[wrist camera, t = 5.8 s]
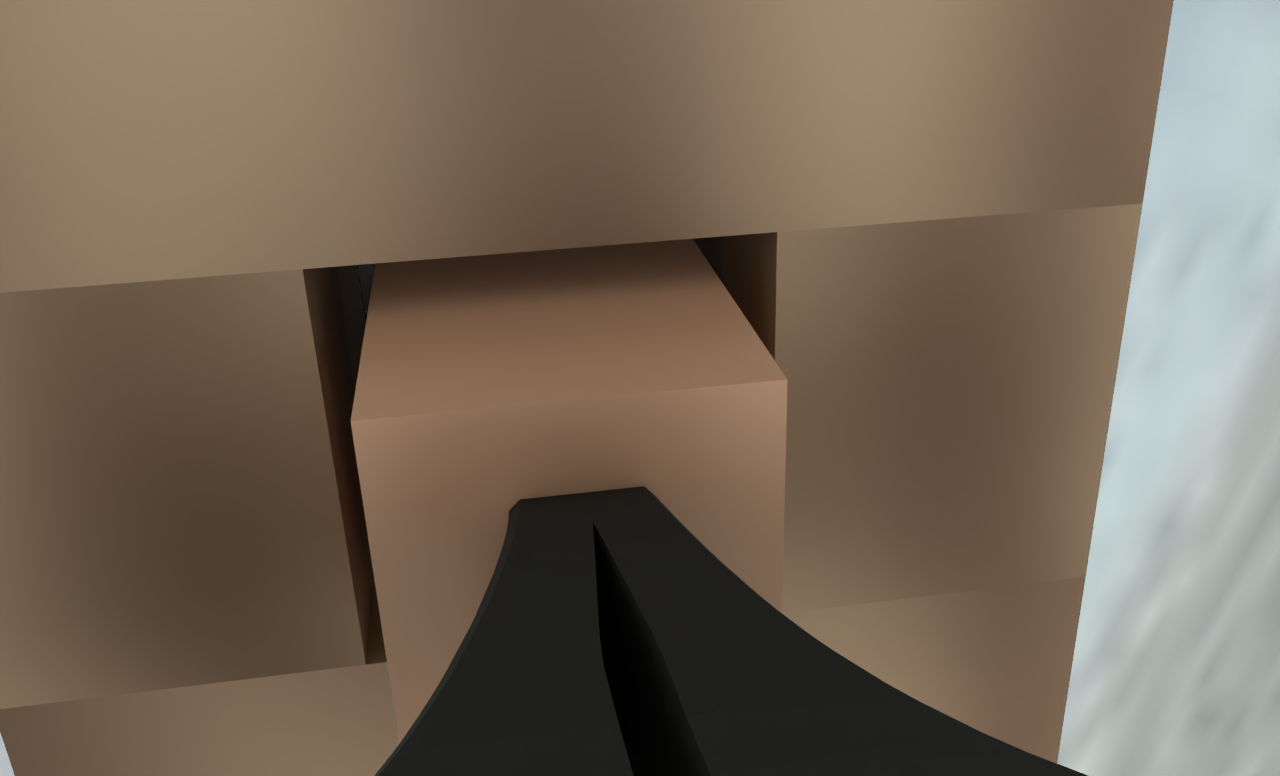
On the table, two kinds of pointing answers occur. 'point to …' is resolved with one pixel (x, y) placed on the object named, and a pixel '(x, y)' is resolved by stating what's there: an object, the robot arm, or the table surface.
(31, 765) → the walnut block
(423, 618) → the terracotta peg
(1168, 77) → the table surface
